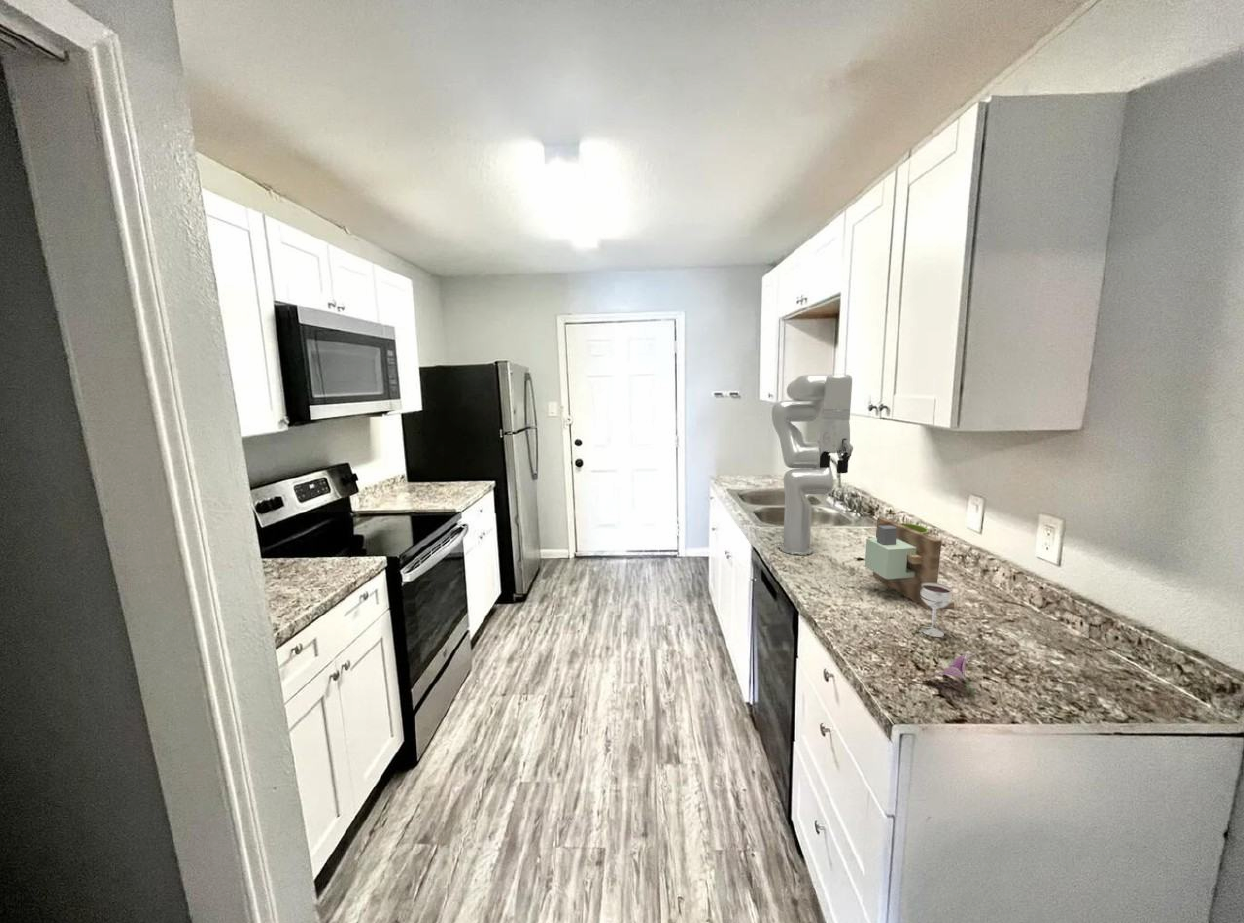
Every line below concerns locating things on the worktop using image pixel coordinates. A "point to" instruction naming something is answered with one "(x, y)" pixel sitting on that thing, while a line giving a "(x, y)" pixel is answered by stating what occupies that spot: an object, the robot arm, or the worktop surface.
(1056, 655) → the worktop surface
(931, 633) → the wineglass
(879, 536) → the mint green box
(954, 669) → the lily
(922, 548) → the wall board
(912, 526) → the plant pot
